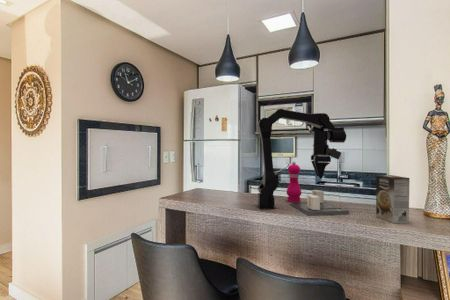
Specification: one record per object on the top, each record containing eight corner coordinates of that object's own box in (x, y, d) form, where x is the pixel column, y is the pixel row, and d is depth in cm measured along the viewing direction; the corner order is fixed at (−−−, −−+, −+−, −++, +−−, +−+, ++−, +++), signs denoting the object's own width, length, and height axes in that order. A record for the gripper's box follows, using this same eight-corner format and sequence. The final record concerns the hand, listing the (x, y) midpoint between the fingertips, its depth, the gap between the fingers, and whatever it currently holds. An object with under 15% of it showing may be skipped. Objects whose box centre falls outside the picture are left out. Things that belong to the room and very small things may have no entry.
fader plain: (317, 203, 113) (317, 191, 113) (312, 200, 118) (312, 190, 118) (323, 202, 113) (323, 191, 113) (318, 200, 118) (318, 189, 118)
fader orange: (312, 209, 100) (312, 197, 100) (307, 207, 105) (307, 195, 105) (320, 209, 100) (320, 197, 100) (314, 206, 105) (314, 194, 105)
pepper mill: (302, 203, 121) (302, 161, 121) (286, 202, 123) (286, 161, 123) (300, 200, 129) (300, 160, 128) (286, 199, 130) (286, 160, 130)
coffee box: (375, 216, 97) (375, 174, 97) (390, 216, 97) (390, 174, 97) (392, 223, 88) (392, 177, 88) (410, 223, 88) (410, 177, 88)
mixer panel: (308, 215, 98) (308, 211, 98) (290, 204, 118) (290, 201, 117) (349, 214, 100) (349, 210, 100) (324, 203, 119) (324, 200, 119)
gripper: (344, 141, 101) (343, 180, 101) (335, 143, 119) (334, 176, 119) (315, 141, 103) (314, 179, 103) (310, 142, 122) (310, 175, 122)
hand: (319, 177), depth 112 cm, fingers open, 9 cm apart
